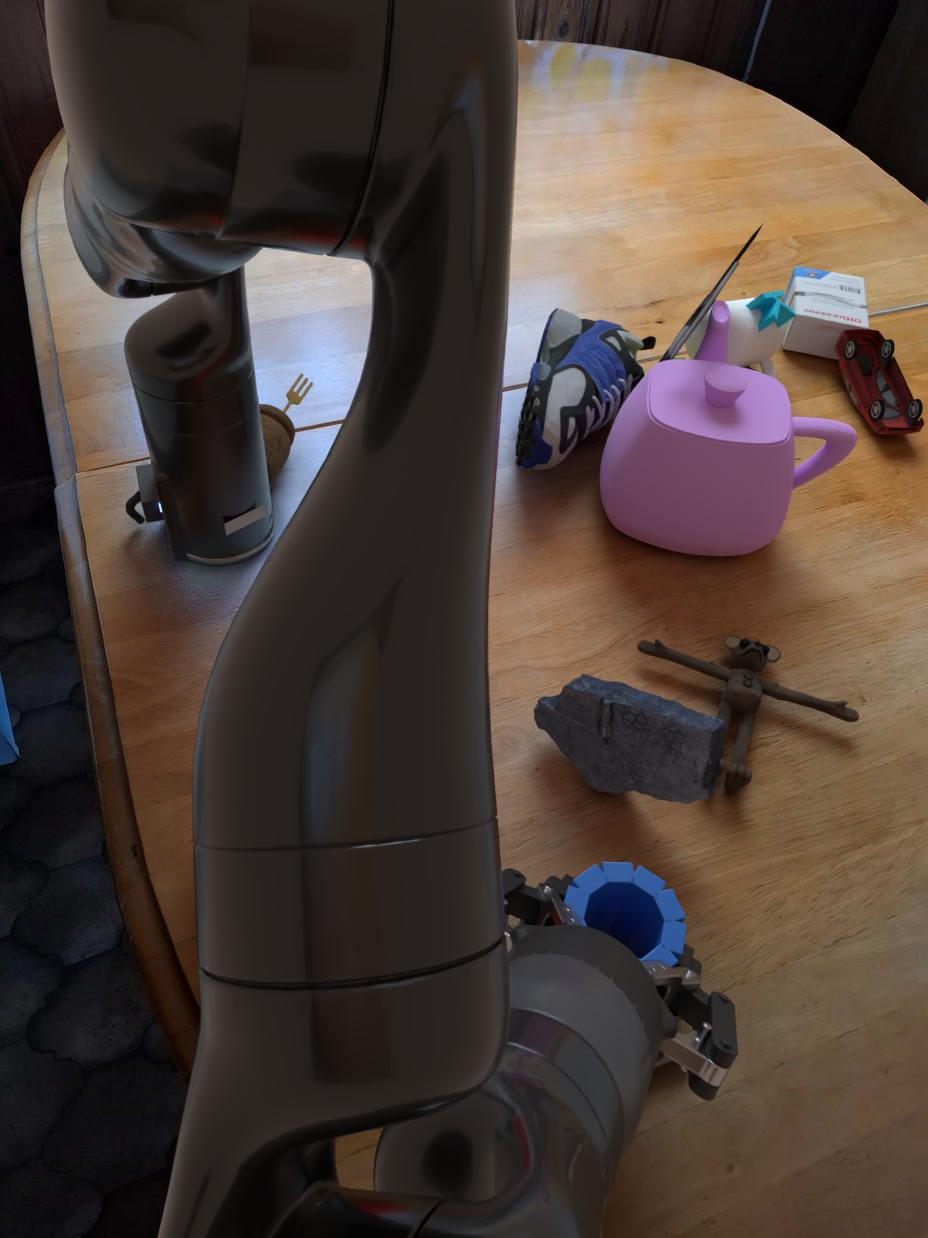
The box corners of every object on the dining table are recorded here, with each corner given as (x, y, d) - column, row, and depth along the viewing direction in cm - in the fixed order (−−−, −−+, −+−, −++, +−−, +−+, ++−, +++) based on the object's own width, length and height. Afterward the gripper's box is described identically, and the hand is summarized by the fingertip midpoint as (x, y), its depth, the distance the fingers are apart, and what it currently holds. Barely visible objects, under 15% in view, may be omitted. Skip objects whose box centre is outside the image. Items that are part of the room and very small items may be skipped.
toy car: (838, 320, 101) (819, 353, 105) (889, 423, 94) (867, 455, 98) (883, 317, 102) (863, 350, 106) (938, 419, 95) (913, 450, 99)
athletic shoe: (514, 411, 80) (649, 442, 79) (556, 280, 98) (666, 304, 97) (498, 498, 87) (622, 526, 86) (540, 361, 105) (643, 383, 104)
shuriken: (589, 477, 89) (715, 308, 73) (580, 471, 89) (705, 300, 73) (659, 372, 105) (775, 213, 89) (652, 366, 105) (766, 207, 89)
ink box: (781, 300, 115) (780, 350, 108) (795, 263, 111) (795, 313, 104) (849, 313, 114) (853, 365, 107) (865, 277, 111) (871, 328, 103)
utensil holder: (251, 505, 86) (296, 429, 94) (287, 475, 82) (331, 398, 90) (200, 465, 84) (250, 390, 92) (234, 432, 80) (284, 356, 88)
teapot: (817, 593, 82) (887, 463, 70) (585, 551, 83) (617, 417, 72) (803, 438, 97) (859, 310, 85) (606, 404, 98) (635, 274, 87)
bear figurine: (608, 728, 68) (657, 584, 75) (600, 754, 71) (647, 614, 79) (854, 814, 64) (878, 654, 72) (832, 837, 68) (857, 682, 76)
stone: (512, 771, 68) (529, 693, 61) (537, 710, 72) (555, 629, 64) (694, 837, 66) (735, 764, 58) (709, 770, 69) (750, 693, 62)
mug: (730, 277, 92) (781, 272, 100) (662, 330, 98) (715, 321, 106) (785, 379, 91) (832, 366, 99) (713, 425, 98) (763, 409, 106)
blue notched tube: (566, 1050, 51) (593, 1000, 44) (525, 939, 55) (544, 878, 48) (668, 1015, 52) (708, 962, 46) (621, 909, 56) (652, 847, 50)
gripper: (772, 1082, 33) (773, 937, 49) (438, 875, 37) (538, 803, 53) (679, 1250, 34) (709, 1054, 50) (364, 1029, 38) (484, 914, 54)
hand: (621, 925), depth 51 cm, fingers closed on blue notched tube, 6 cm apart
